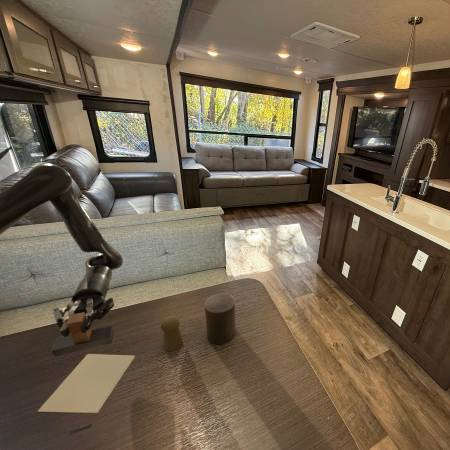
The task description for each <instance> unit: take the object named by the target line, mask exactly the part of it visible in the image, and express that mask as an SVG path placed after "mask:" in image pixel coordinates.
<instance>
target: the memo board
mask: <svg viewBox="0 0 450 450" xmlns="http://www.w3.org/2000/svg"><path fill="white" fill-rule="evenodd" d="M135 357H136V355H127V354H101V353H86V355H85V356H84V357H83V359H82V360H80V362H79V363H78V364H77V365H76V366H75V367H74V369H73V370H72V371H71V372H70V373H69V375H67V376H66V378H65V379H64V380H63V381H62V382H61V384H60V385H59V386H58V387H57V388H56V389H55V390H54V391H53V393H52V394H51V395H50V396H49V397H48V398H47V400H45V402H44V403H43V404H42V405H41V406H40V407H39V409H38V410H37V412H38V413H74V414H75V413H78V414H98V413H99V412H100V411H101V409H102V407H103V406H104V404H105V402H106V401H107V400H108V398H109V397H110V395H111V394H112V392H113V391H114V389H115V388H116V387H117V385H118V383H119V382H120V380H121V378H122V377H123V376H124V374H125V373H126V371H127V370H128V368H129V366H130V365H131V364H132V362H133V360H134V359H135Z"/></svg>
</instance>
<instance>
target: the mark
mask: <svg viewBox="0 0 450 450" xmlns="http://www.w3.org/2000/svg"><path fill="white" fill-rule="evenodd" d="M92 424H93V423H89V424H85V425H83V426H80V427H78V428H75V429H74V428H73V429H71V430H70V431H69V433H68V435H73V434H75V433H77V432H80V431H83V430H86V429H89V428H91V427H92Z"/></svg>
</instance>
